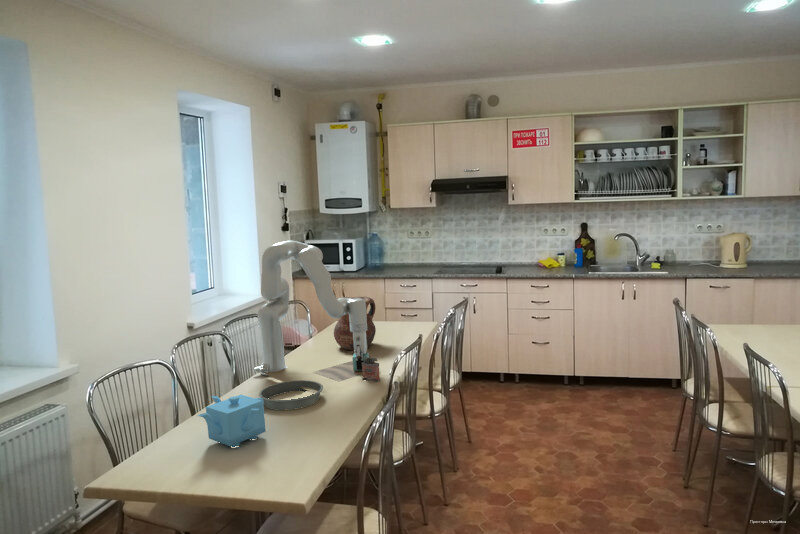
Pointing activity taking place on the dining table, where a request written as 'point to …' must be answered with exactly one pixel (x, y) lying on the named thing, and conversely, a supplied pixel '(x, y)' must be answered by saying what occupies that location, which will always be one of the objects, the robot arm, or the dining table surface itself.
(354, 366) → the turquoise cube
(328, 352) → the dining table surface
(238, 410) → the teakettle
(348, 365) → the post board
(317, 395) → the cake pan
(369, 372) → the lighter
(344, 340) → the jug
